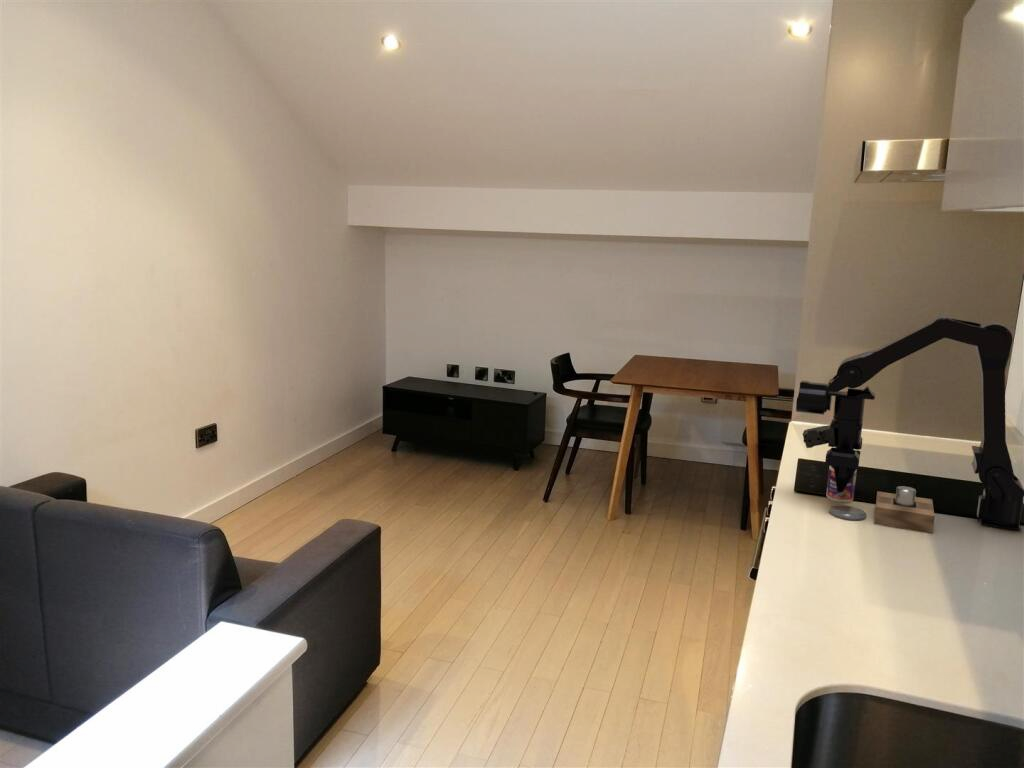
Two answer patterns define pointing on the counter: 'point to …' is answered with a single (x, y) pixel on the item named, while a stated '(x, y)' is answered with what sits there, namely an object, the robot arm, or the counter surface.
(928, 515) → the socket block
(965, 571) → the counter surface
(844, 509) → the coaster
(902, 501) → the plug
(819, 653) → the counter surface
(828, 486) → the pill bottle
